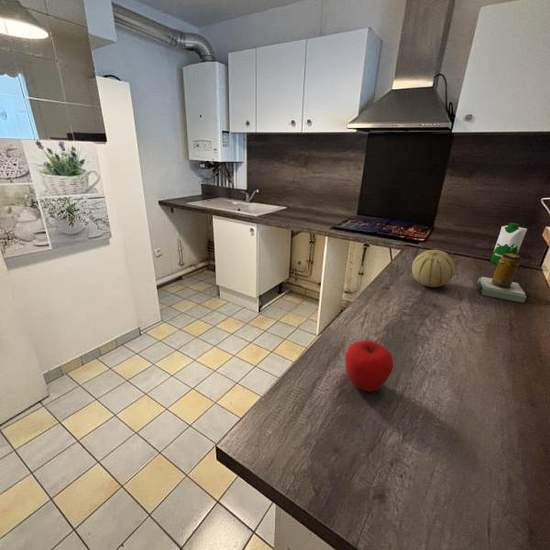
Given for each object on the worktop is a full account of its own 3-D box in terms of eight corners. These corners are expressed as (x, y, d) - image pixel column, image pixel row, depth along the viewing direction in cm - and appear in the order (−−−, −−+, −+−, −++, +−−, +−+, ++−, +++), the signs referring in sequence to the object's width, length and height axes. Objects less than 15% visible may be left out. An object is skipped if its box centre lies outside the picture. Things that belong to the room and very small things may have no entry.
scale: (515, 290, 115) (518, 282, 114) (524, 303, 105) (527, 294, 104) (476, 283, 120) (478, 275, 119) (480, 294, 111) (483, 286, 109)
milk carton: (487, 261, 146) (501, 222, 138) (496, 258, 150) (510, 220, 142) (507, 267, 139) (522, 226, 131) (516, 264, 143) (531, 224, 135)
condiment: (499, 280, 116) (509, 251, 111) (520, 289, 108) (533, 259, 103) (485, 281, 114) (495, 252, 109) (506, 291, 106) (518, 260, 101)
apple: (335, 387, 64) (341, 347, 60) (350, 364, 72) (356, 326, 67) (380, 409, 59) (390, 367, 55) (391, 381, 67) (401, 342, 62)
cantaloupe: (447, 282, 120) (457, 247, 114) (450, 296, 108) (462, 258, 102) (409, 275, 126) (417, 241, 120) (407, 288, 113) (416, 251, 107)
